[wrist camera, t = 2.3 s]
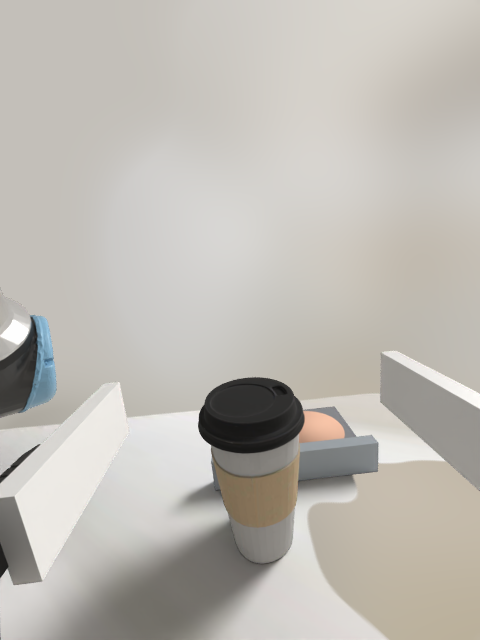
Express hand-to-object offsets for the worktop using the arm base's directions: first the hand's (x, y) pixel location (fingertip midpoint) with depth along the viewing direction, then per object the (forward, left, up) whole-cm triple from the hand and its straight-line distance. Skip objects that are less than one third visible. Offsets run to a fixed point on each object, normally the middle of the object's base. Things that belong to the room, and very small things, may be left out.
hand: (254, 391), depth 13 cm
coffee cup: (0, +9, -20) cm, 23 cm away
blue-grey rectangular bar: (+5, +16, -20) cm, 26 cm away
